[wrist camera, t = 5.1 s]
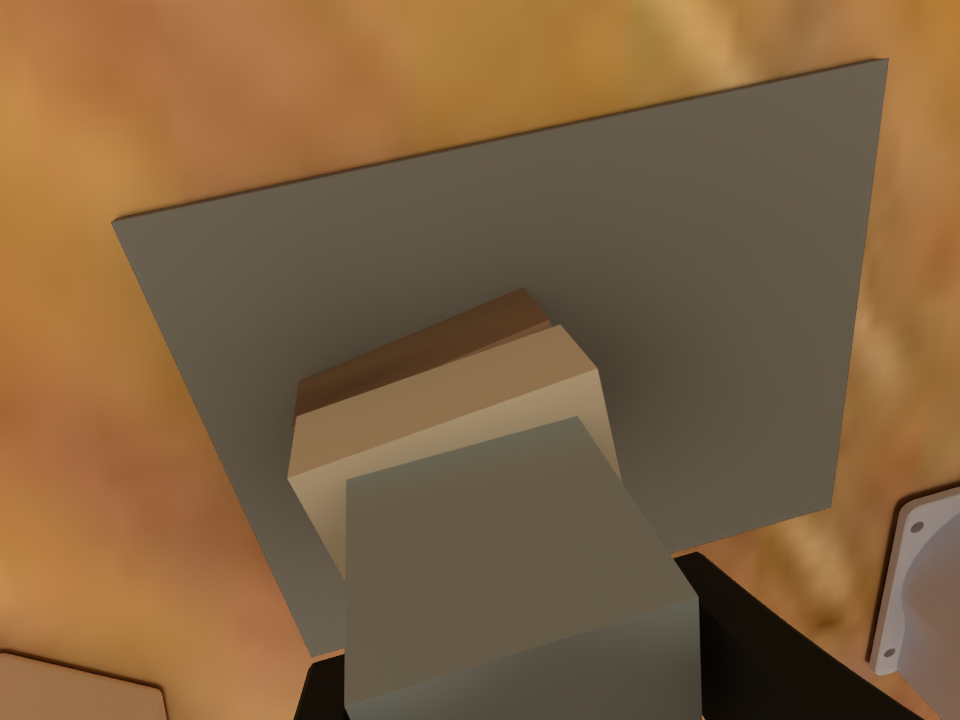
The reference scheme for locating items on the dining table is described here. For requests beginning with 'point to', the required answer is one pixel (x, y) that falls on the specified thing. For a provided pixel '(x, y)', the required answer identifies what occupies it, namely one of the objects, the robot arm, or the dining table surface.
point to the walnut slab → (424, 350)
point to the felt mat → (553, 297)
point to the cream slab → (442, 420)
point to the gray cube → (513, 590)
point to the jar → (71, 694)
